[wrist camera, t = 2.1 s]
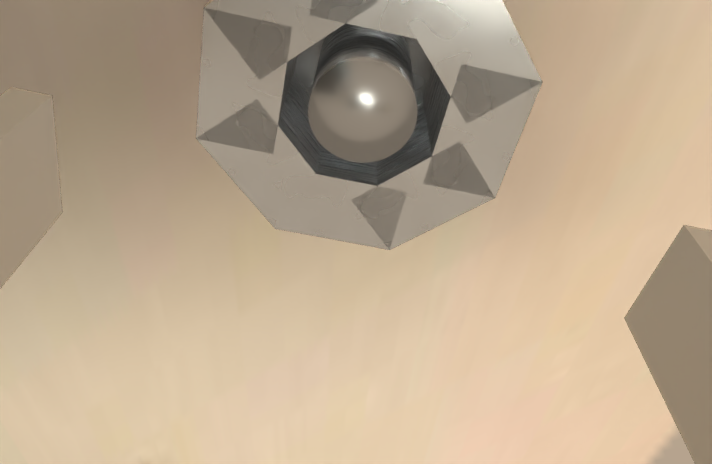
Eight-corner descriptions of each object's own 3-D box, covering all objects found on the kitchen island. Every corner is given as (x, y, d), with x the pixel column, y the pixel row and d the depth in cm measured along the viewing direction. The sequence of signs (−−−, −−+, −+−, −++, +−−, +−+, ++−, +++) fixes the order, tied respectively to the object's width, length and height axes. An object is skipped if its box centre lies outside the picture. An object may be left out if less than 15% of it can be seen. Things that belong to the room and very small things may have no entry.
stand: (282, 73, 25) (242, 185, 18) (304, -81, 22) (267, -25, 14) (419, 102, 26) (437, 222, 18) (462, -44, 22) (504, 29, 15)
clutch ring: (219, 153, 22) (191, 213, 19) (243, -126, 17) (210, -110, 14) (454, 199, 23) (467, 264, 20) (546, -53, 18) (584, -21, 14)
